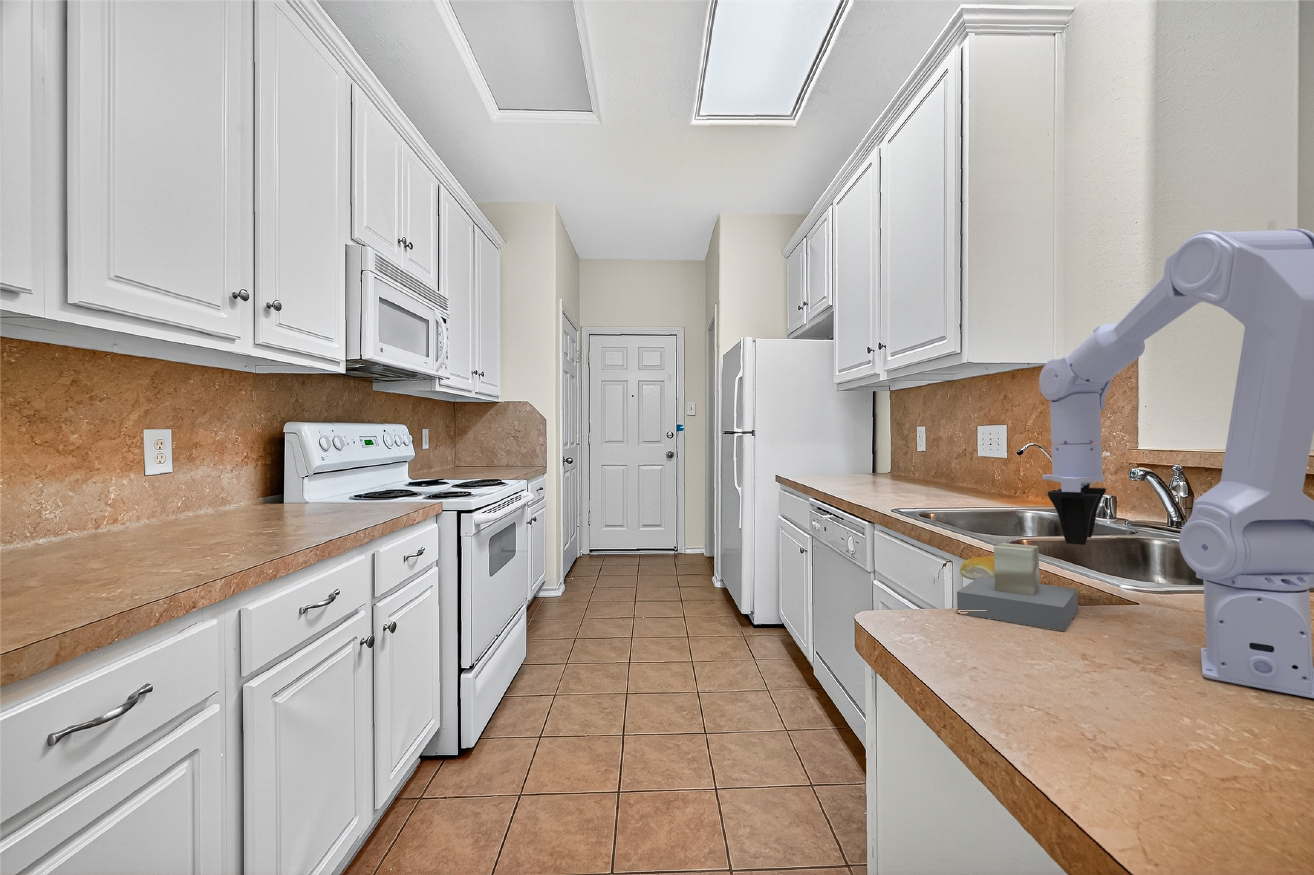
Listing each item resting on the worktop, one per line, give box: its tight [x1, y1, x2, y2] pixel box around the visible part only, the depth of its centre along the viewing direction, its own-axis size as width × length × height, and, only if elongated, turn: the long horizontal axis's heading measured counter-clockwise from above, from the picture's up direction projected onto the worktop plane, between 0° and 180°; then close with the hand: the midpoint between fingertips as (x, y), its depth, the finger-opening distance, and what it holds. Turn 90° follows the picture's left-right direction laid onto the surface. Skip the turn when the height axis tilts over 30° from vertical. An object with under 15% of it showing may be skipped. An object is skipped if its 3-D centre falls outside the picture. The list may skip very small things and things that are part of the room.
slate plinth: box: [956, 577, 1079, 632], centre depth 77 cm, size 12×12×3 cm
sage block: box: [993, 542, 1041, 596], centre depth 77 cm, size 4×4×6 cm
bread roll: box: [959, 555, 995, 581], centre depth 98 cm, size 8×9×4 cm
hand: (1079, 540), depth 79 cm, fingers open, 7 cm apart
